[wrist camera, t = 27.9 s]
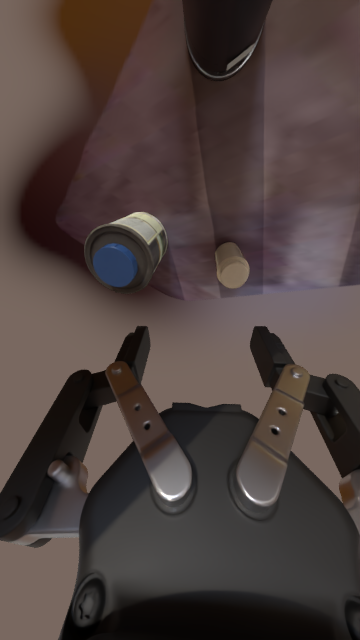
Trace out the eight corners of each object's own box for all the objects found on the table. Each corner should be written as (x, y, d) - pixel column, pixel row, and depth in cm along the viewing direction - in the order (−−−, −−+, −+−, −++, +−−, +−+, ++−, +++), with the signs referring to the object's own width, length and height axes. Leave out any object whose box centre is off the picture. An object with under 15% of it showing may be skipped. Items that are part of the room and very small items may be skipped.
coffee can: (176, 251, 39) (165, 279, 28) (138, 271, 42) (114, 302, 31) (150, 200, 34) (124, 208, 22) (109, 227, 37) (68, 246, 26)
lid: (140, 281, 28) (136, 287, 27) (105, 281, 29) (100, 286, 27) (133, 243, 25) (129, 246, 23) (94, 243, 25) (87, 247, 24)
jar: (210, 251, 38) (211, 270, 30) (234, 236, 36) (243, 253, 27) (221, 272, 41) (225, 296, 32) (245, 260, 38) (256, 281, 30)
